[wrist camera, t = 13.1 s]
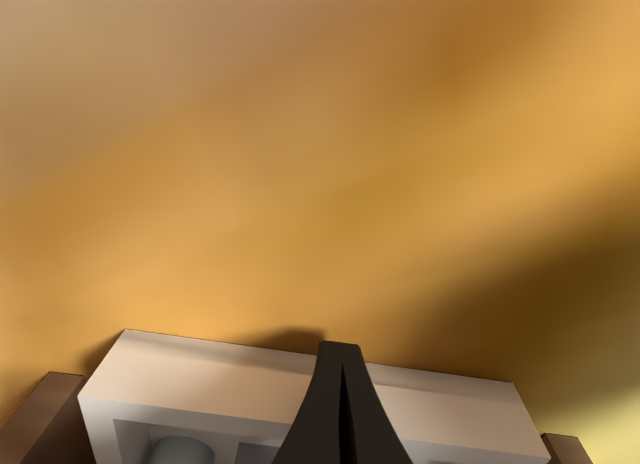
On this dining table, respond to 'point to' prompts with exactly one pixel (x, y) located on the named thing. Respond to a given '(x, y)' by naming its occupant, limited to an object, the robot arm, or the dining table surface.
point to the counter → (74, 444)
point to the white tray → (281, 406)
